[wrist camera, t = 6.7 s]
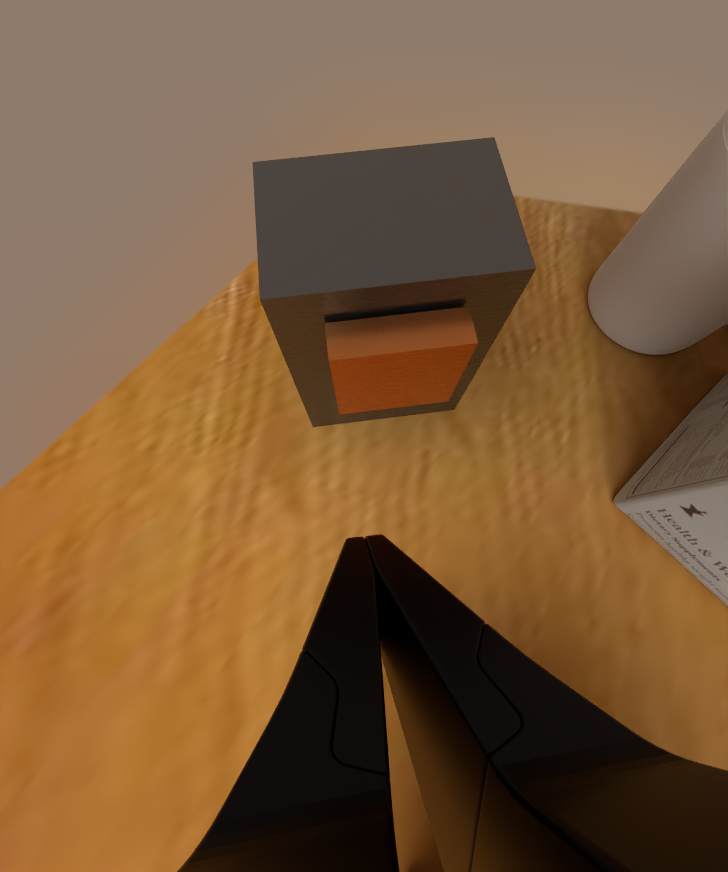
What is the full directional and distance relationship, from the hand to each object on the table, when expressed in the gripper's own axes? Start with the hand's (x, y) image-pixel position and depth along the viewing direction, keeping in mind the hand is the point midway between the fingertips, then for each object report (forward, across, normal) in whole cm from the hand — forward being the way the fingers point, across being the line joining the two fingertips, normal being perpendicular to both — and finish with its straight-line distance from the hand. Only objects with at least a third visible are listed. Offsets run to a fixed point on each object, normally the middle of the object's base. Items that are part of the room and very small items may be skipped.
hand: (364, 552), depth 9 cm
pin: (+13, -3, -3) cm, 13 cm away
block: (+17, -4, 0) cm, 18 cm away
